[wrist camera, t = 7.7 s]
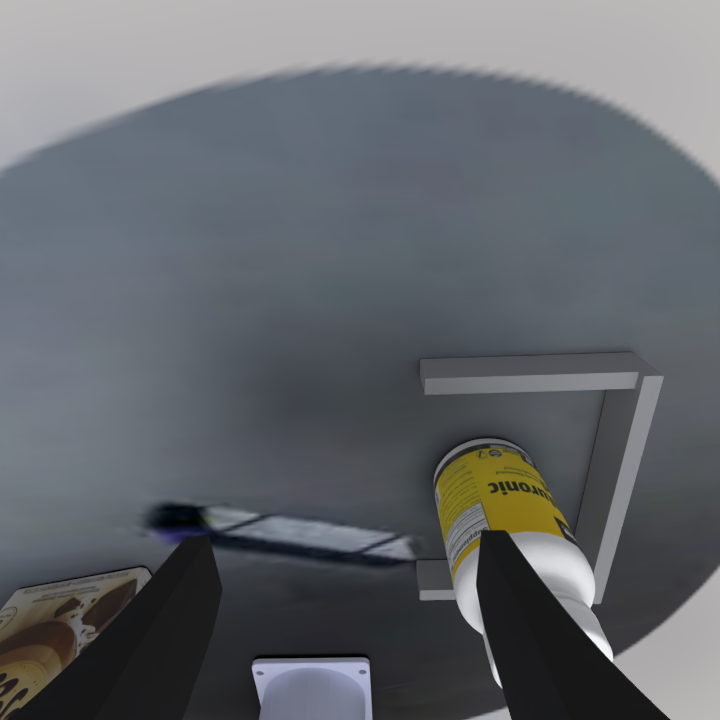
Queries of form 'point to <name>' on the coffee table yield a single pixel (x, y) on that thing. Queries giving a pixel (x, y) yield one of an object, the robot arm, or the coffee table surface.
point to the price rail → (611, 450)
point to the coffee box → (56, 629)
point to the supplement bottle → (510, 529)
